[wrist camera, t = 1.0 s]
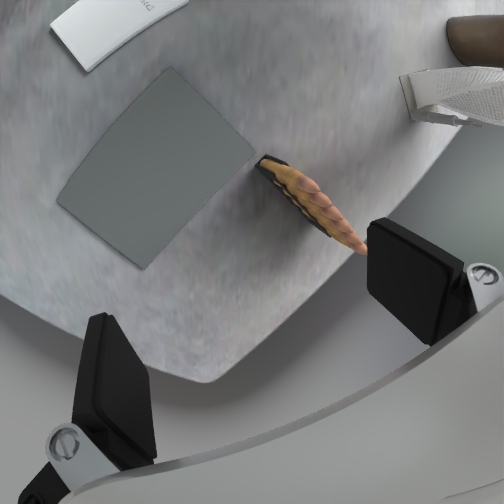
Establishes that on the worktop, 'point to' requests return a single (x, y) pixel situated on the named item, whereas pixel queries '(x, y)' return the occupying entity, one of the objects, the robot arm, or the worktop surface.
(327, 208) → the ammunition clip
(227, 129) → the mat
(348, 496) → the robot arm
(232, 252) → the worktop surface
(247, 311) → the worktop surface
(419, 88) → the skyscraper
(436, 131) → the worktop surface
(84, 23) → the external hard drive
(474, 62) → the pillar candle
